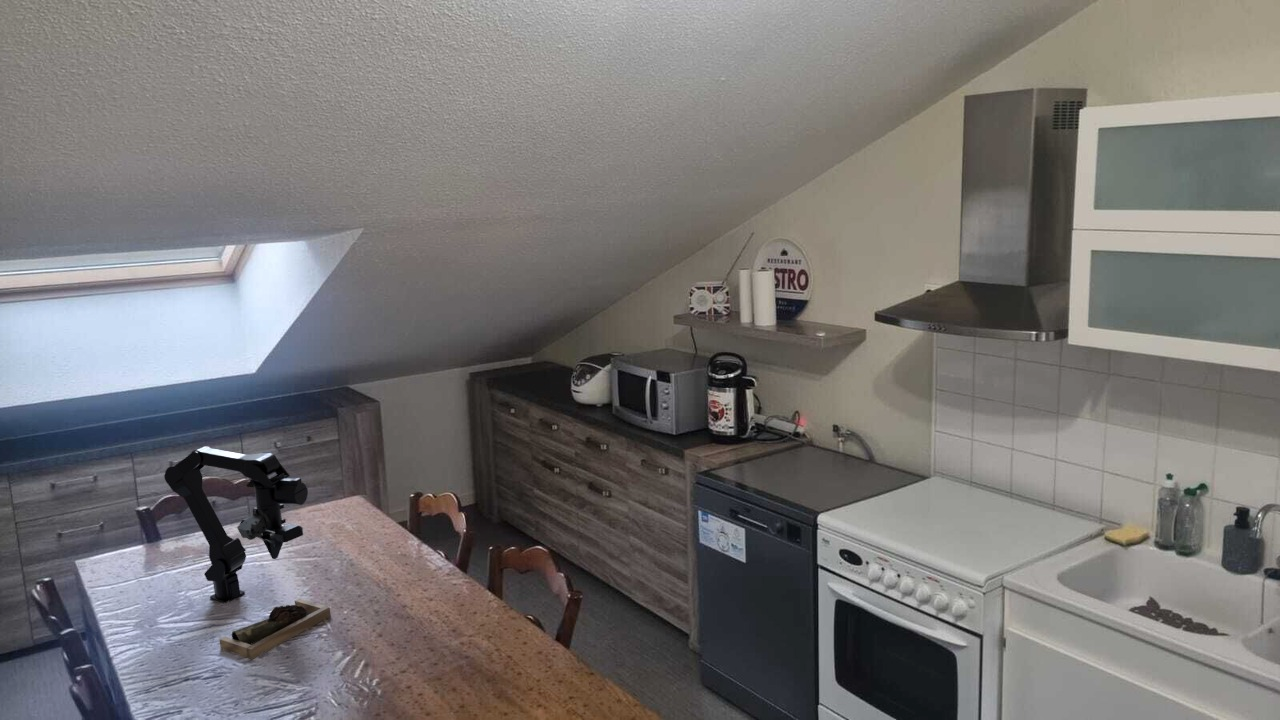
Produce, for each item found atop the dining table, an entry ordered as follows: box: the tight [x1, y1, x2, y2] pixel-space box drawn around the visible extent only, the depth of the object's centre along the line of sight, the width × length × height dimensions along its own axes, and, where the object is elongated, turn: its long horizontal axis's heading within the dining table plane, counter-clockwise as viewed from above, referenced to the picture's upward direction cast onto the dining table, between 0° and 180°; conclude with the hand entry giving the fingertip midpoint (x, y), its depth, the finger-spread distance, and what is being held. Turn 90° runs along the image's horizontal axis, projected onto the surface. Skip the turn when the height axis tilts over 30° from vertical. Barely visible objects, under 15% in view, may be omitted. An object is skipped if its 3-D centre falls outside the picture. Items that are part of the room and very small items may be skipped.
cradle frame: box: [219, 598, 332, 660], centre depth 236 cm, size 11×24×2 cm, turn 150°
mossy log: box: [231, 604, 308, 645], centre depth 235 cm, size 18×7×6 cm, turn 134°
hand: (274, 558), depth 251 cm, fingers closed
